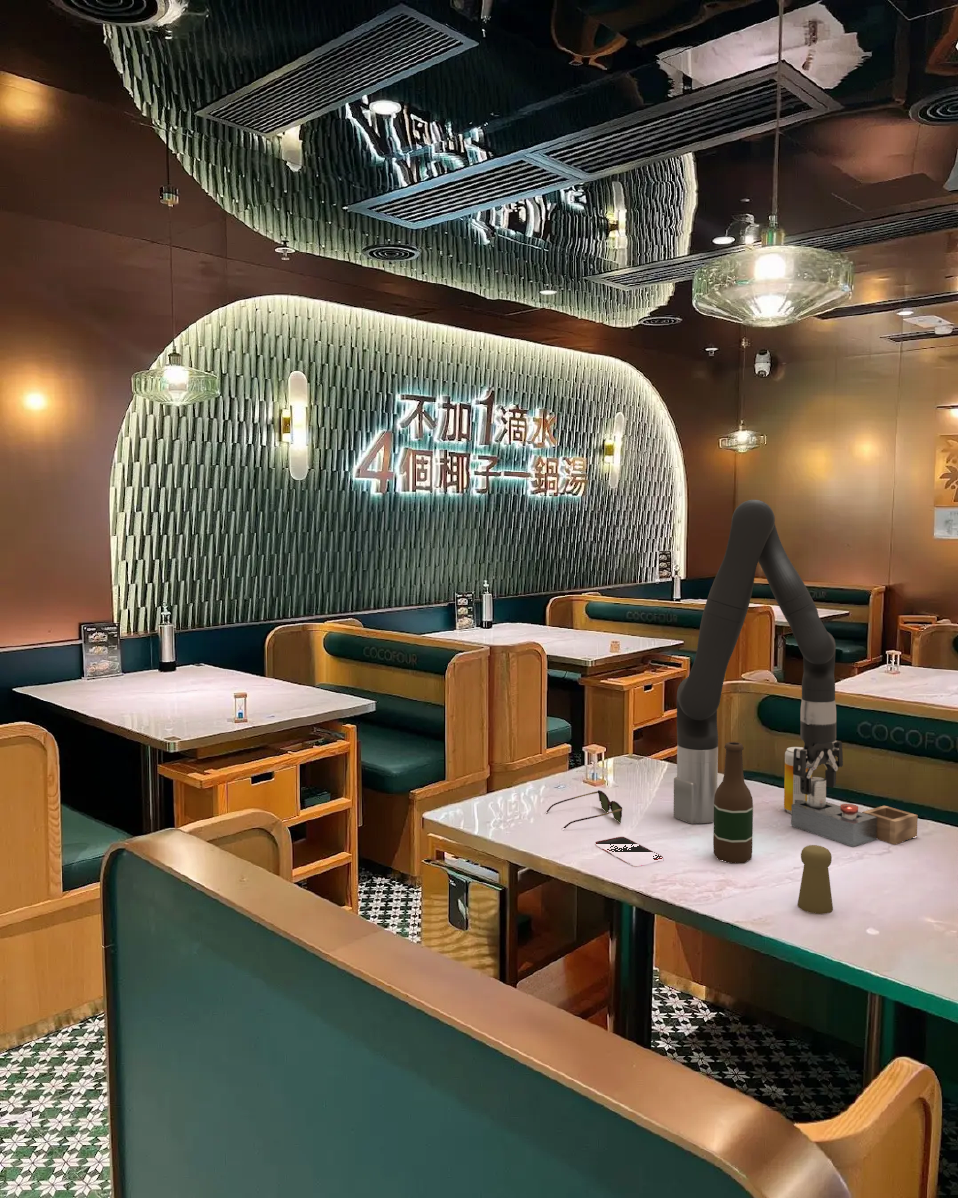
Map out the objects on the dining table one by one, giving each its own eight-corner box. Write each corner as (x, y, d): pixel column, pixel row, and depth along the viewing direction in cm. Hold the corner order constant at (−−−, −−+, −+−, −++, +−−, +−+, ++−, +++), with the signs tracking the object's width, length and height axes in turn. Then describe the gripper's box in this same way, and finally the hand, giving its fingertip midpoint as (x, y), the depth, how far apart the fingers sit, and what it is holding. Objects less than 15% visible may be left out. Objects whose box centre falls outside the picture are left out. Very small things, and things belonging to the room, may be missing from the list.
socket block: (852, 847, 194) (853, 824, 193) (791, 826, 207) (791, 804, 207) (876, 839, 198) (876, 817, 198) (814, 819, 212) (814, 798, 211)
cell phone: (622, 840, 201) (622, 836, 201) (665, 862, 188) (665, 857, 187) (593, 846, 197) (593, 842, 197) (634, 869, 184) (634, 864, 184)
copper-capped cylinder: (850, 837, 197) (851, 810, 196) (836, 832, 200) (836, 805, 199) (861, 834, 199) (861, 807, 198) (846, 829, 202) (847, 802, 201)
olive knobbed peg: (791, 900, 167) (792, 842, 166) (823, 899, 168) (824, 841, 167) (806, 914, 161) (807, 854, 160) (839, 913, 162) (840, 852, 161)
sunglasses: (624, 827, 209) (622, 806, 208) (562, 839, 205) (561, 817, 205) (600, 808, 223) (598, 788, 222) (542, 818, 219) (540, 798, 219)
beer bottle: (753, 852, 191) (754, 740, 189) (751, 866, 184) (753, 749, 182) (714, 848, 194) (716, 737, 192) (711, 861, 186) (712, 746, 184)
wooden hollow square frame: (894, 844, 195) (895, 821, 194) (861, 834, 202) (862, 811, 201) (916, 837, 199) (917, 815, 199) (883, 827, 206) (884, 805, 205)
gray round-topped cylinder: (817, 831, 204) (818, 783, 203) (802, 826, 207) (803, 778, 206) (829, 827, 206) (830, 780, 205) (814, 823, 209) (815, 776, 208)
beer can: (807, 807, 220) (808, 746, 219) (813, 816, 214) (815, 753, 213) (781, 807, 221) (782, 746, 219) (787, 815, 215) (788, 752, 213)
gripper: (824, 712, 211) (824, 781, 213) (783, 721, 204) (783, 792, 205) (852, 717, 205) (852, 788, 206) (811, 727, 198) (811, 800, 199)
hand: (818, 790), depth 206 cm, fingers open, 8 cm apart
